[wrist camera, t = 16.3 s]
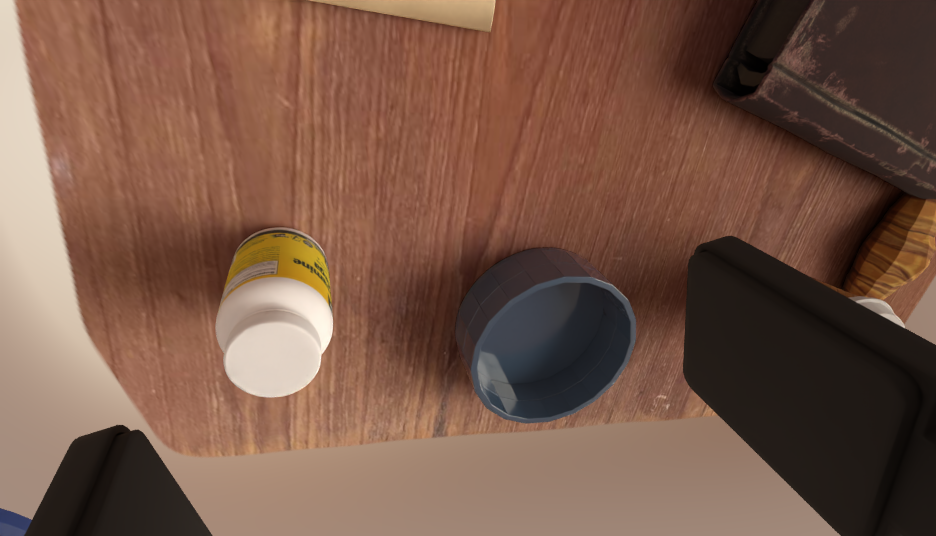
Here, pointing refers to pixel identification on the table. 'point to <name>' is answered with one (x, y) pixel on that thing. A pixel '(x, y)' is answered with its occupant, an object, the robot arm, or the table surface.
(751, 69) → the diary
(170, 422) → the table surface
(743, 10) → the table surface
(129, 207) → the table surface
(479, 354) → the fruit bowl
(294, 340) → the pill bottle
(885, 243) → the croissant
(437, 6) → the serving board
